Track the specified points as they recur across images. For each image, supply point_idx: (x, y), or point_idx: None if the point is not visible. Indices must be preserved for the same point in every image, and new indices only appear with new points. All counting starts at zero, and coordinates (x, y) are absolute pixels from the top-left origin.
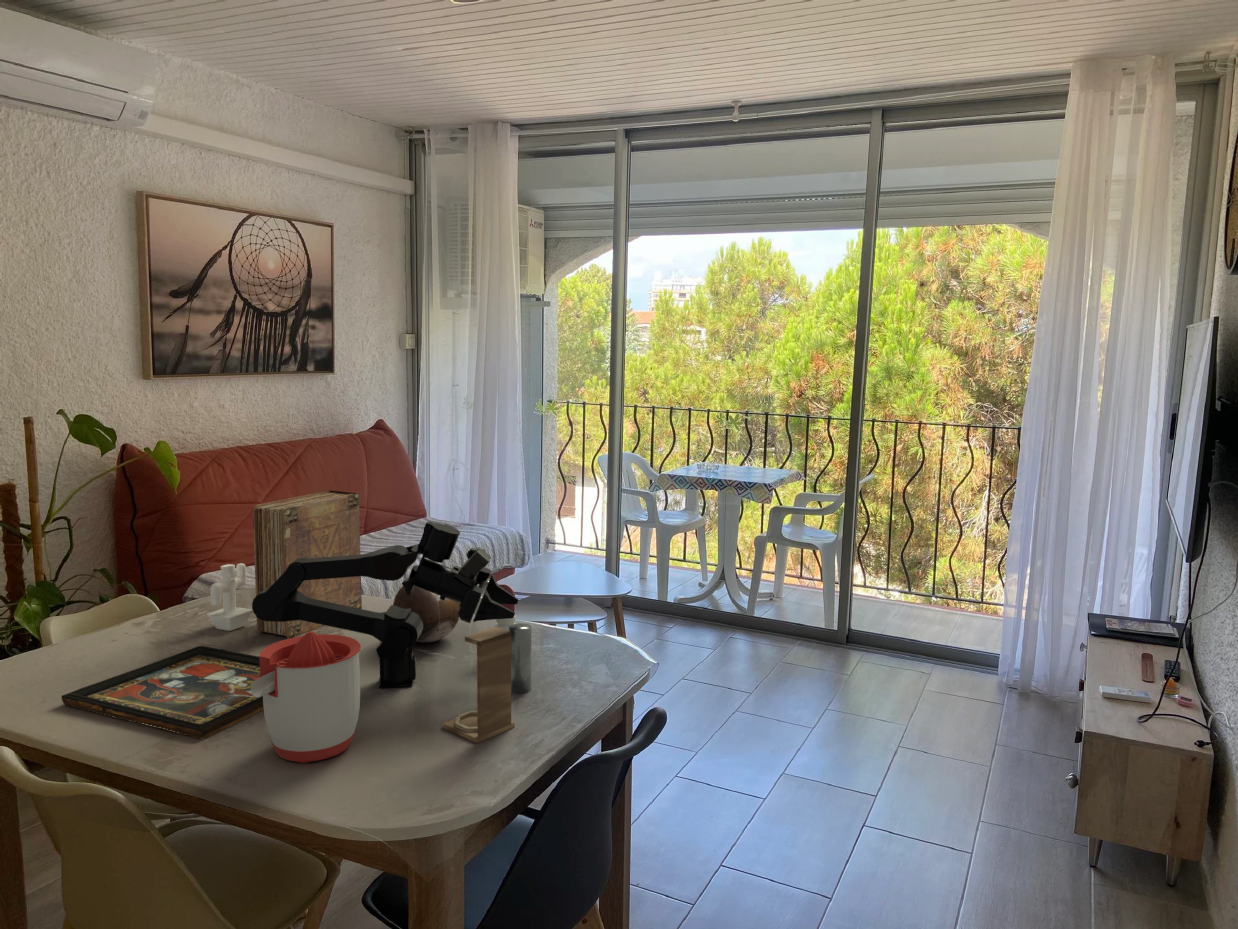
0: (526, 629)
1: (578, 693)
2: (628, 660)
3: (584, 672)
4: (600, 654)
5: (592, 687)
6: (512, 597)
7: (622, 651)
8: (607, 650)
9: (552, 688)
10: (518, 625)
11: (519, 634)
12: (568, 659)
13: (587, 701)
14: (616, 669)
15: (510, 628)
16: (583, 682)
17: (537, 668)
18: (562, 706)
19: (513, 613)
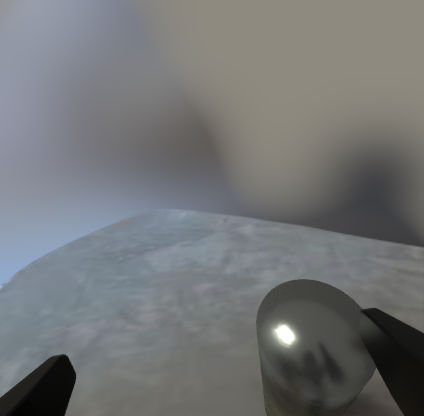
0: (334, 291)
1: (281, 269)
2: (137, 228)
3: (182, 276)
4: (101, 266)
5: (249, 254)
6: (35, 397)
7: (98, 240)
8: (86, 259)
9: None
10: (291, 340)
11: None
12: (111, 315)
13: (311, 251)
14: (171, 236)
15: (357, 377)
16: (229, 270)
17: (152, 379)
18: (353, 284)
19: (381, 314)
